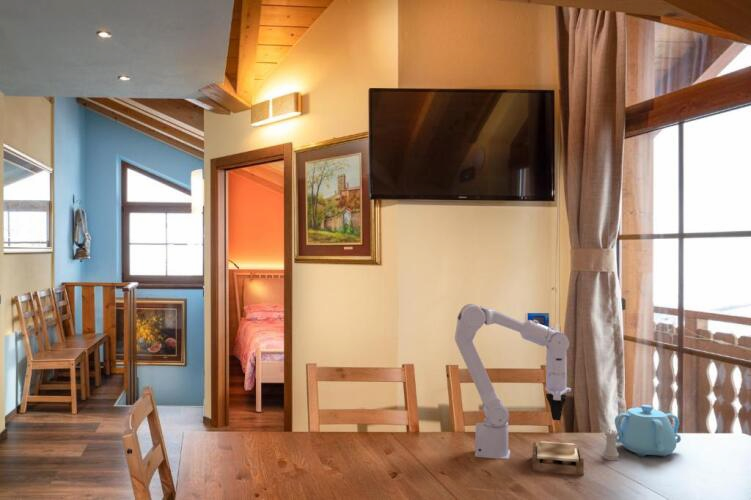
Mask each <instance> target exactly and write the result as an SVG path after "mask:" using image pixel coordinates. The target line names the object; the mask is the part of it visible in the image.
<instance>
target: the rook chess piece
mask: <svg viewBox="0 0 751 500" xmlns="http://www.w3.org/2000/svg"><path fill="white" fill-rule="evenodd" d="M616 433H617V430H614V429H612V430H611V429H606V432H605V433H604V435H605V436H606V438H605V440H606V445H605V448H604V450H603V452H602V458H603V459H605V460H607V461H608V460H609V461H618V460H620V457H619V456H620V454H619V452H618V450H617V445H616V443H617V442H616V439H615V437H616V436H617V434H616ZM617 437H618V436H617Z"/></svg>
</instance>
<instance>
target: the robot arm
mask: <svg viewBox="0 0 751 500" xmlns="http://www.w3.org/2000/svg"><path fill="white" fill-rule="evenodd" d="M456 319H457V320H456V327H455V332H454V333H455V334H454V340H455V343H456V346H457V348H458V350H459V353H460V354H461V357H462V359H463V361H464V364H465V367H466V368H467V370H468V372H469V375H470V376H471V379H472V381H473V383H474V386H475V388H476V389H477V393H478V394H479V397H480V400H481V402H482V411H483V414H484V416H485V417H484V418H483V420H482V422H476V424H475V435H474V437H475V439H474V440H475V442H474V449H475V452H474V453H475V455H474V456H475V457H477V458H490V459H497V460H498V459H502V460H509V459H510V457H511V456H510V455H511V449H509V419H510V413H509V410H508V408H507V407H506V406H505V405H504V403H503V401H502V400H500V398H499V396H498V394H497V392H496V391H495V388H494V386H493V384H492V381H491V379H490V377H489V374H488V373H487V370H486V368H485V366H484V364H483V362H482V359H481V357H480V355H479V352H478V350H477V347H476V346H475V343H474V341H473V340H474V339H475V336H476V334H477V332H478V331H479V330H480V329H481V328H482V327H483V325H484V324H485V325H486V326H490V325H494V324H495V325H499V326H501V327H504V328H507V329H510V330H512V331H515V332H518V333H519V334H520V336H521V337H522V339H524V340H526V341H529V342H531V343H533V344H536V345H538V346H542V347H545V348H546V356H545V370H546V371H545V388H544V389H545V391H546V392H548V393H546V394H545V395H546V400H547V402H548V404H549V408H550V414H551V419H552V421H561V418H562V414H563V413H562V412H563V408H564V405H565V403H566V401H567V400H568V399H567V397H568V396H567V392H572V388H571V387H568V386H567V383H568V381H567V380H568V379H567V378H568V377H567V372H568V370H567V368H568V367H567V361H568V359H567V358H568V357H567V350H568V349H569V348H570V341H569V338H568V336H567V334H565V333H563V332H562V331H559V330H557V329H555V328H554V326H553V327H552V326H546V325H543V324H542V323H539V320H537V319H533V320H531V319H528V320H526V321H521V320H518V319H517V318H514V317H511V316H509V315H507V314H504V313H502V312H500V311H497V310H496V309H493V308H488V307H485V306H478V305H476V304H474V303H467V304H465V305H463V307H462V308H461V309H460V312H459V313H458V315H457V318H456Z"/></svg>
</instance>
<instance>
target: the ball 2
mask: <svg viewBox="0 0 751 500" xmlns="http://www.w3.org/2000/svg"><path fill="white" fill-rule="evenodd" d="M561 462H562V463H563V464H564V465H571V463H572V461H563V460H561Z"/></svg>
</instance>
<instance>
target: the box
mask: <svg viewBox="0 0 751 500" xmlns="http://www.w3.org/2000/svg"><path fill="white" fill-rule="evenodd" d="M538 445H540V442H539V444H538ZM577 453H578V458H579V462H575V461H572V463H571V465H564V464H563V463H562V462H561V460H553V461H554V462H553V464H551V463H542V459H539V458H537V443H536V442H534V441H533V442H532V471H533V472H543V473H552V474H553V473H554V474H555V473H557V474H566V475H567V474H568V475H575V476H576V475H579V476H584V475H585V473H584V472H585V470H584V469H585V467H584V466H585V465H584V461H585V459H584V454H583V449H582V445H577Z"/></svg>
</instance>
